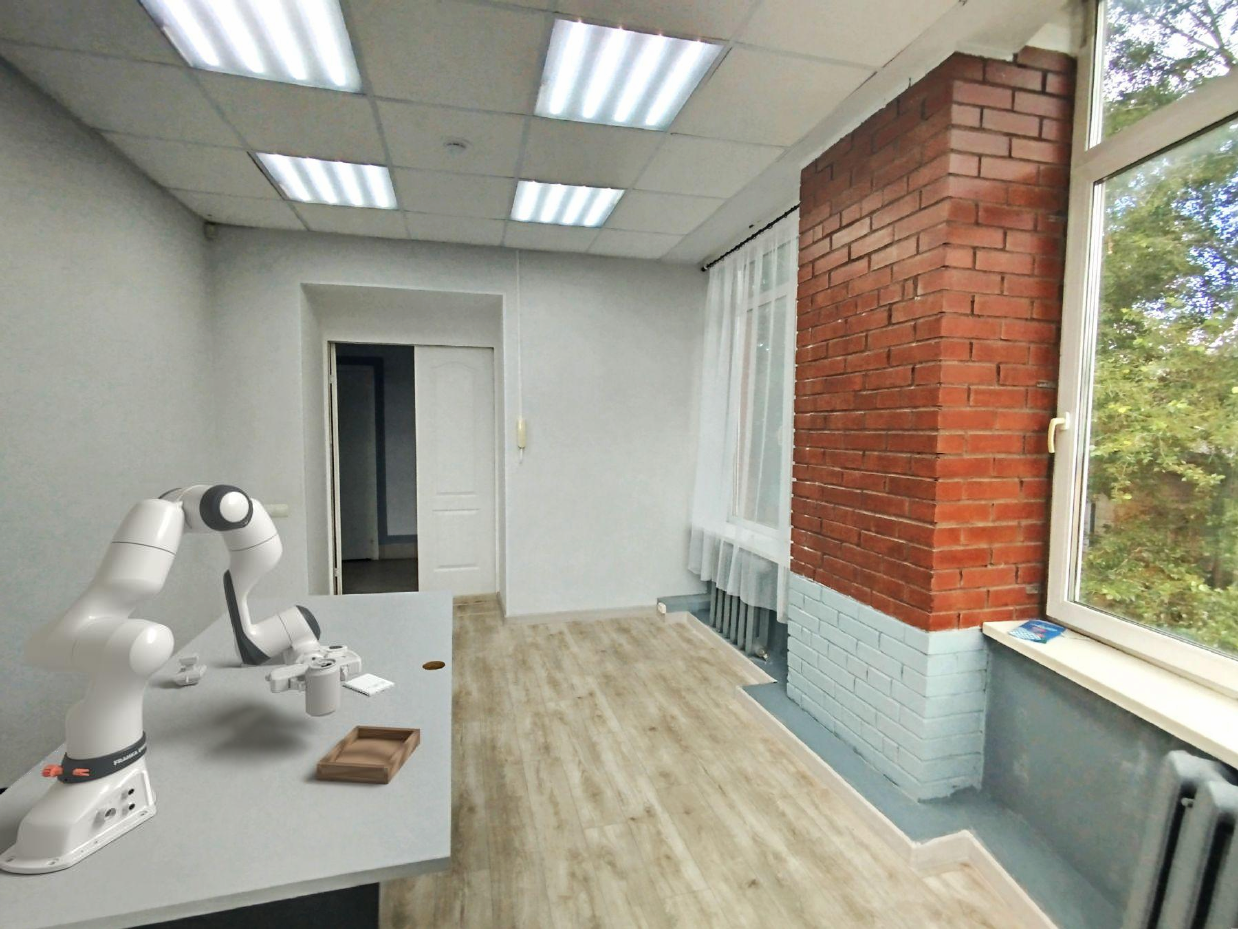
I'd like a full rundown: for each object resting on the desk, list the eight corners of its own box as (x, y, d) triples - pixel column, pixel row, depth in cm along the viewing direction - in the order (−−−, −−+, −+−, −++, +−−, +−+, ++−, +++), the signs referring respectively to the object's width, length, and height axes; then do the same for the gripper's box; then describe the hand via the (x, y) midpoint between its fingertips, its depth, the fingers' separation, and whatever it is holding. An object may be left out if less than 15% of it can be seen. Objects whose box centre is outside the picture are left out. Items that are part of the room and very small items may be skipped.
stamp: (200, 687, 165) (199, 659, 165) (172, 691, 163) (171, 662, 162) (208, 674, 174) (207, 648, 173) (181, 678, 171) (180, 651, 170)
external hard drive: (368, 678, 174) (394, 687, 167) (344, 688, 167) (370, 698, 160) (368, 672, 174) (394, 682, 167) (343, 682, 167) (370, 693, 160)
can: (325, 720, 131) (325, 670, 131) (298, 716, 133) (297, 666, 132) (347, 705, 139) (347, 657, 138) (320, 702, 140) (320, 654, 140)
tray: (388, 783, 121) (387, 768, 121) (317, 779, 122) (316, 764, 122) (420, 742, 137) (420, 729, 137) (357, 739, 138) (356, 725, 138)
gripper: (263, 662, 138) (273, 681, 128) (352, 643, 152) (367, 659, 141) (263, 687, 139) (273, 708, 128) (352, 666, 152) (368, 684, 141)
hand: (323, 682), depth 135 cm, fingers closed on can, 7 cm apart
